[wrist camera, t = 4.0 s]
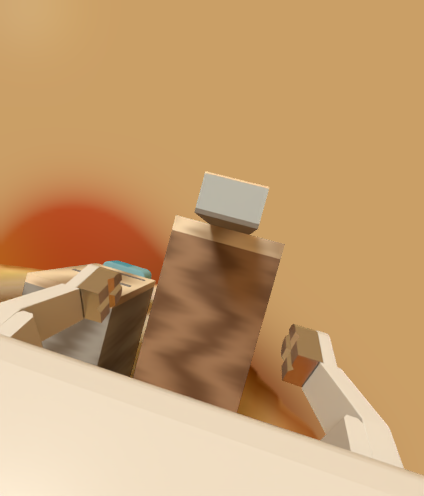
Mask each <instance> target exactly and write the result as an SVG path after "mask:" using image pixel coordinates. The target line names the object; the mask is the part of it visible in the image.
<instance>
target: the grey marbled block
mask: <svg viewBox="0 0 424 496" xmlns="http://www.w3.org/2000/svg"><path fill="white" fill-rule="evenodd" d="M89 265H90V264H89ZM93 265H96V266H99V267H103V268H106V269H109V270H112V271H115V272H118V273H121V274H122V280H121V282H120V284H121V286H122V294H121V297H120V299H119V301H118V303H117V304H116V305H115V306H113V307H111V308H110V313H109V314H108V315H107V317H106V318H105V319H104V320H103V322H102V323H99V322H96V321H92V320H89V319H85V318H84V319H83V320H81V321H79V322H78V323H76V324H74V325H72V326H70V327H68V328H66V329H64V330H62V331H61V332H59V333H57V334H55V335H53V336H51V337H49V338H47V339H46V340H44V341H42V345H43V348H44V349H47V350H50V351H53V352H56V353H59V354H62V355H65V356H68V357H71V358H74V359H77V360H80V361H83V362H86V363H89V364H92V365H95V366H98V367H101V368H104V369H107V370H110V371H113V372H116V373H119V374H122V375H125V376H128V377H130V375H131V371H132V367H133V364H134V360H135V356H136V352H137V348H138V345H139V341H140V337H141V333H142V329H143V326H144V322H145V318H146V314H147V311H148V307H149V303H150V299H151V295H152V292H153V288H154V284H155V280H151V279H148V278H144V277H141V276H138V275H134V274H131V273H127V272H124V271H121V270H117V269H114V268H111V267H107V266H104V265H100V264H93ZM86 266H87V265H81V266H74V267H67V268H59V269H52V270H45V271H38V272H30V273H27V277H26V281H25V285H24V289H23V293H22V296H23V295H26V294H30V293H33V292H36V291H39V290H43V289H46V288H49V287H52V286H56V285H59V284H66V283H67V282H69V281H70V280H71V279H72V278H73V277H74V276H76V275H77V274H78V273H79V272H80V271H81V270H83V269H84V268H85V267H86Z"/></svg>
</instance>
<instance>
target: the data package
mask: <svg viewBox="0 0 424 496" xmlns="http://www.w3.org/2000/svg"><path fill="white" fill-rule="evenodd" d="M103 265H104V266H107V267H111V268H114V269H117V270H121V271H124V272H127V273H131V274H134V275H138V276H141V277H144V278H148V279H151V272H150V271H149V270H146V269H143V268H140V267H137V266H134V265H130V264H127V263H124V262H121V261H107V262H105V263H104V264H103Z"/></svg>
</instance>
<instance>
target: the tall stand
mask: <svg viewBox="0 0 424 496" xmlns="http://www.w3.org/2000/svg"><path fill="white" fill-rule="evenodd" d="M284 245H285V244H282V243H278V242H274V241H270V240H267V239H263V238H259V237H255V236H252V235H248V234H244V233H241V232H237V231H233V230H229V229H226V228H222V227H218V226H215V225H211V224H207V223H203V222H200V221H196V220H192V219H188V218H184V217H181V216H177V215H176V218H175V221H174V225H173V229H172V232H171V236H170V240H169V244H168V247H167V252H166V255H165V259H164V263H163V266H162V271H161V274H160V278H159V282H158V285H157V289H156V293H155V297H154V300H153V304H152V308H151V312H150V315H149V319H148V323H147V327H146V330H145V334H144V338H143V342H142V346H141V349H140V353H139V357H138V361H137V364H136V368H135V372H134V376H133V378H134V379H137V380H140V381H143V382H146V383H149V384H152V385H155V386H158V387H161V388H164V389H167V390H170V391H173V392H176V393H179V394H182V395H185V396H188V397H191V398H194V399H197V400H200V401H203V402H206V403H209V404H212V405H215V406H218V407H221V408H224V409H227V410H230V411H233V412H236V413H237V410H238V406H239V403H240V399H241V396H242V392H243V389H244V385H245V382H246V378H247V375H248V371H249V368H250V364H251V361H252V357H253V353H254V350H255V347H256V343H257V339H258V336H259V332H260V329H261V325H262V322H263V319H264V315H265V312H266V308H267V304H268V301H269V297H270V294H271V290H272V287H273V283H274V280H275V276H276V272H277V269H278V266H279V262H280V259H281V255H282V252H283V248H284Z"/></svg>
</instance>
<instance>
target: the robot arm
mask: <svg viewBox="0 0 424 496" xmlns="http://www.w3.org/2000/svg"><path fill="white" fill-rule="evenodd" d="M121 280H122V274H121V273H118V272H115V271H112V270H109V269H106V268H103V267H99V266H96V265H93V264H90V265H87V266H86V267H85V268H84V269H83V270H81V271H80V272H79V273H78V274H77V275H76V276H74V277H73V278H72V279H71V280H70V281H69V282H67V283H66V284H59V285H56V286H52V287H49V288H46V289H43V290H39V291H36V292H33V293H30V294H26V295H23V296H20V297H17V298H13V299H10V300H7V301H4V302H1V303H0V496H424V475H421V474H418V473H415V472H412V471H409V470H406V469H404V468H403V465H402V462H401V459H400V457H399V454H398V451H397V448H396V445H395V443H394V440H393V437H392V434H391V431H390V429H389V427H388V426H387V424H386V423H385V422H384V421H383V419H382V418H381V417H380V416H379V415H378V413H377V412H376V411H375V410H374V409H373V407H372V406H371V405H370V404H369V402H368V401H367V400H366V399H365V398H364V396H363V395H362V394H361V393H360V391H359V390H358V389H357V388H356V387H355V385H354V384H353V383H352V382H351V380H350V379H349V378H348V377H347V376H346V375H345V373H344V372H343V371H342V369H340V368H337V364H336V360H335V356H334V352H333V348H332V344H331V340H330V336H329V335H328V334H327V333H323V332H319V331H315V330H312V329H309V328H305V327H302V326H298V325H295V324H293V325H292V326H291V327H290V329H289V335H287V336H286V337H285V339H284V341H283V344H282V350H281V356H282V359H283V360H284V363H283V365H282V380H283V381H285V382H288V383H291V384H294V385H297V386H300V387H302V390H303V391H304V394H305V395H306V397H307V399H308V401H309V403H310V405H311V407H312V409H313V410H314V413H315V414H316V416H317V418H318V420H319V422H320V424H321V426H322V428H323V429H324V431H325V433H326V435H325V436H324V437H323V438H322V439H321V440H320V441H319V440H316V439H313V438H310V437H307V436H304V435H301V434H298V433H295V432H292V431H289V430H286V429H283V428H280V427H277V426H274V425H271V424H268V423H265V422H262V421H259V420H256V419H253V418H250V417H247V416H244V415H241V414H239V413H236V412H233V411H230V410H227V409H224V408H221V407H218V406H215V405H212V404H209V403H206V402H203V401H200V400H197V399H194V398H191V397H188V396H185V395H182V394H179V393H176V392H173V391H170V390H167V389H164V388H161V387H158V386H155V385H152V384H149V383H146V382H143V381H140V380H137V379H134V378H131V377H128V376H125V375H122V374H119V373H116V372H113V371H110V370H107V369H104V368H101V367H98V366H95V365H92V364H89V363H86V362H83V361H80V360H77V359H74V358H71V357H68V356H65V355H62V354H59V353H56V352H53V351H50V350H47V349H44V348H43V345H42V341H44V340H46V339H47V338H49V337H51V336H53V335H55V334H57V333H59V332H61V331H62V330H64V329H66V328H68V327H70V326H72V325H74V324H76V323H78V322H79V321H81V320H83V319H84V318H85V319H89V320H92V321H96V322H99V323H102V322H103V320H104V319H105V318H106V317H107V315H108V314H109V313H110V308H111V307H113V306H115V305H116V304H117V303H118V301H119V299H120V297H121V294H122V286H121V284H120V282H121Z"/></svg>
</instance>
